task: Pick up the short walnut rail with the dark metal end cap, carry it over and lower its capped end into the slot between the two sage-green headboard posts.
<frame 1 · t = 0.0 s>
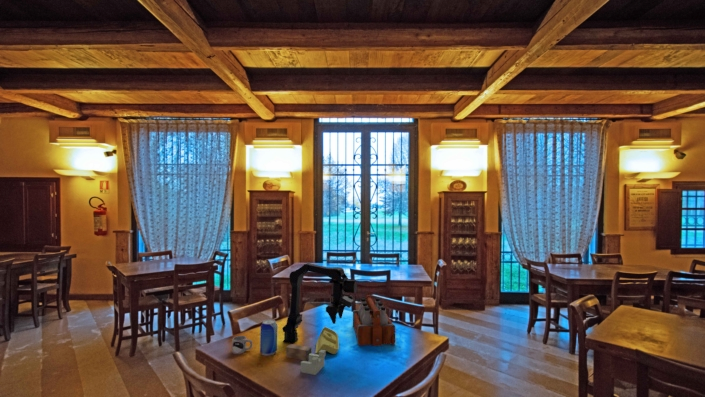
hand: (337, 320, 171), 15 cm above the table, tool pointing down, fingers open, 9 cm apart
headboard posts: (311, 368, 149), on the table
mug: (242, 351, 167), on the table
rail: (298, 357, 161), on the table
plastic component: (328, 347, 173), on the table
beer can: (268, 353, 165), on the table
milk bottle holder: (372, 335, 190), on the table
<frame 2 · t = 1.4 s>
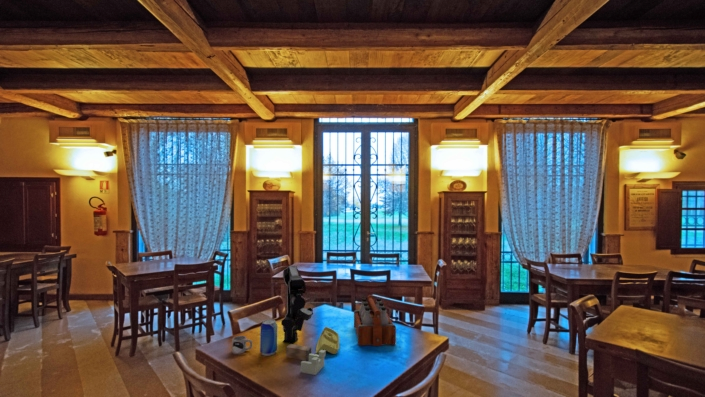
hand: (295, 334, 162), 11 cm above the table, tool pointing down, fingers open, 9 cm apart
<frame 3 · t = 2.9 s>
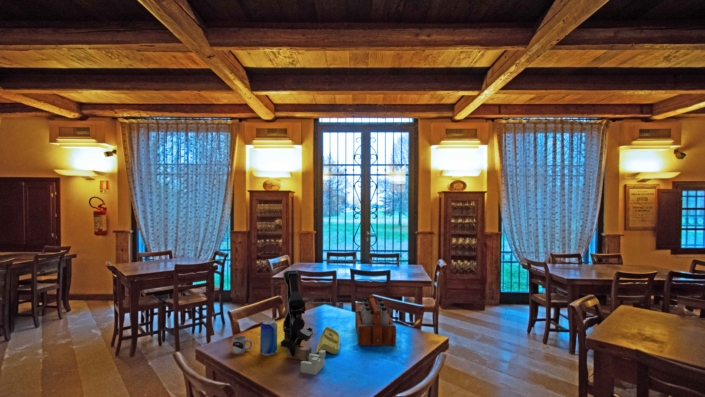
hand: (295, 354, 161), 1 cm above the table, tool pointing down, fingers closed on rail, 4 cm apart
rail: (298, 357, 161), on the table, touching gripper
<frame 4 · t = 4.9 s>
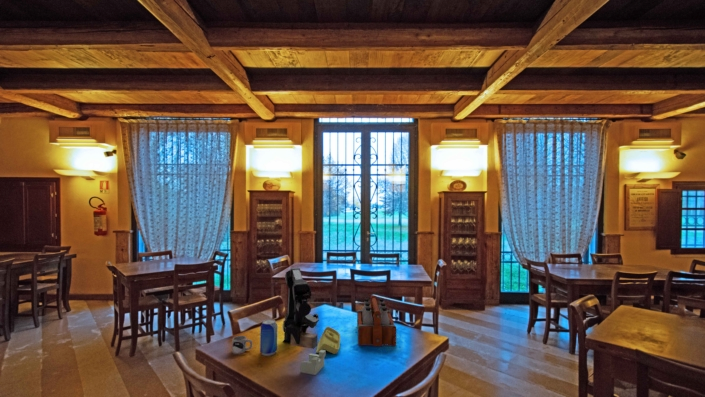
hand: (300, 342, 152), 11 cm above the table, tool pointing down, fingers closed on rail, 4 cm apart
rail: (303, 345, 151), point 10 cm above the table, touching gripper
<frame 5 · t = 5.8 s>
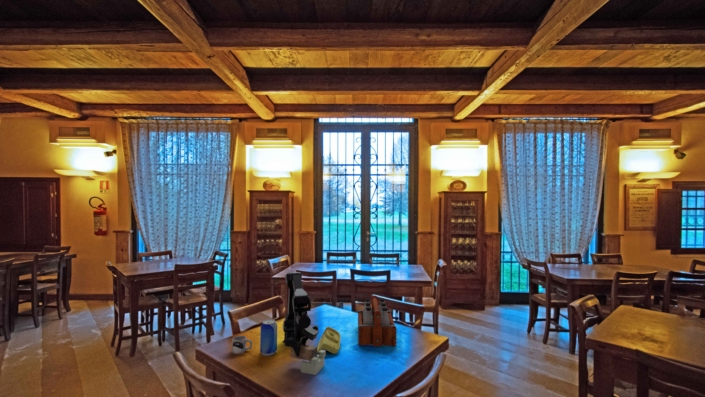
hand: (300, 354, 152), 5 cm above the table, tool pointing down, fingers closed on rail, 4 cm apart
rail: (303, 357, 151), point 4 cm above the table, touching gripper
when the fingers open (2 cm above the table, at t = 6.7 s): rail drops 1 cm, on the table.
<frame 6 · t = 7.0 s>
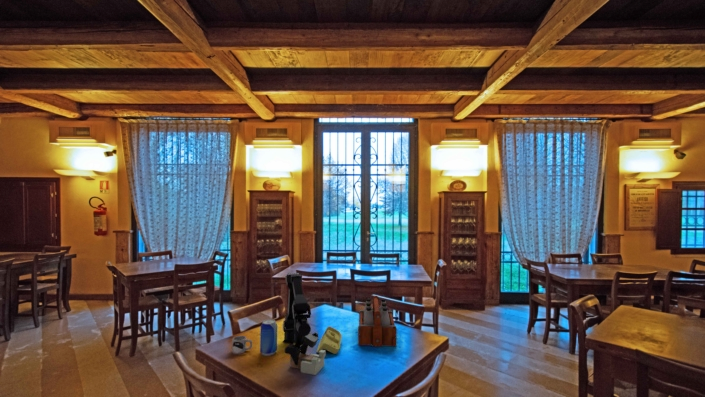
hand: (299, 361, 152), 2 cm above the table, tool pointing down, fingers open, 7 cm apart
rail: (303, 367, 151), on the table
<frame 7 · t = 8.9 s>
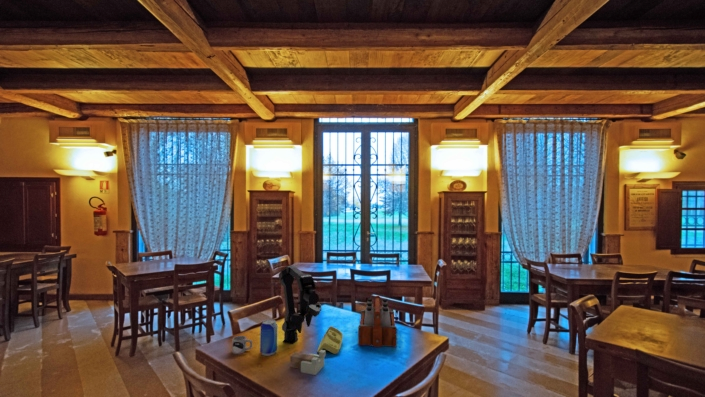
hand: (304, 329, 166), 12 cm above the table, tool pointing down, fingers open, 9 cm apart
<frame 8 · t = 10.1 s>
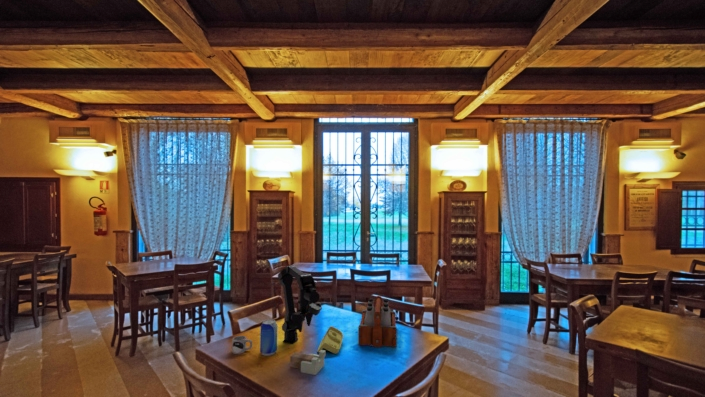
hand: (304, 328, 167), 12 cm above the table, tool pointing down, fingers open, 9 cm apart
at the end: rail 0.1 cm from the target spot on the headboard posts, point 0.0 cm above the headboard posts's base; rail tilted 0°; the gripper is holding nothing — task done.
